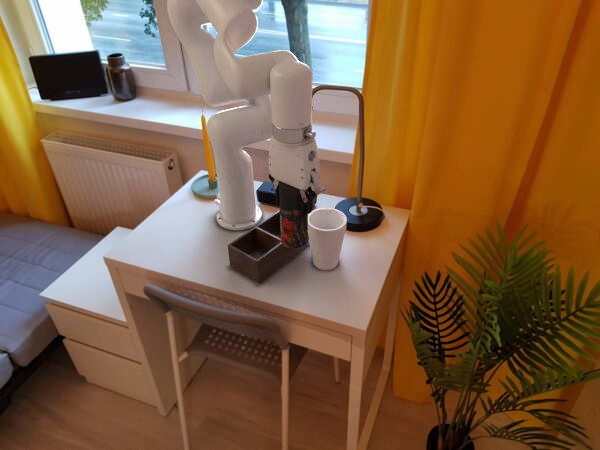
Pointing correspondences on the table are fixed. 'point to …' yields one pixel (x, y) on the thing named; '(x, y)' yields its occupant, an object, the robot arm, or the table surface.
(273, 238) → the organiser
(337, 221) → the foam cup
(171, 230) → the table surface
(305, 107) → the robot arm
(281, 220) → the deodorant
